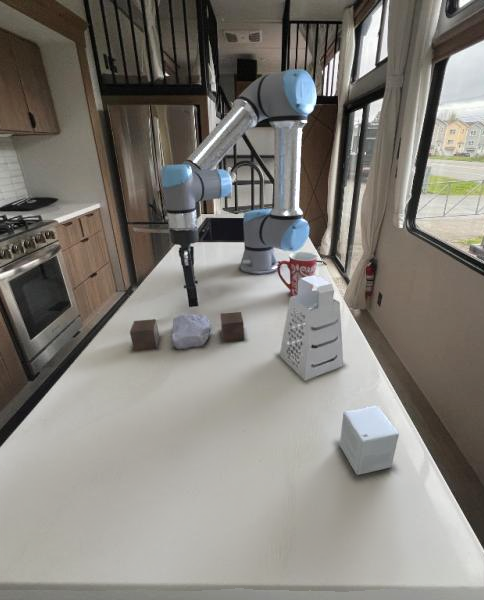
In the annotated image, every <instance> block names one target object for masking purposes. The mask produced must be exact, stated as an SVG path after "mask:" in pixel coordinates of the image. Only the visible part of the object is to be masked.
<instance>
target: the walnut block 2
mask: <svg viewBox="0 0 484 600" xmlns="http://www.w3.org/2000/svg"><path fill="white" fill-rule="evenodd" d="M220 325H221V326H220V328H221V336H222V343H228V342H239V341H245V332H244V331H245V328H244V326H245V325H244V318H243V314H242V311H234V312H222V313H220Z"/></svg>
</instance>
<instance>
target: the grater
mask: <svg viewBox="0 0 484 600" xmlns="http://www.w3.org/2000/svg"><path fill="white" fill-rule="evenodd" d="M312 285H313V287H315V288H316V289H315V290H313V291H311V287H312ZM334 295H335V288H334V286H333V284H332V283H331V282H330V281H328V280H326V279H324V278H322V277H320V276H318V275H316V274H315V275H312V276H308V277H303V278H300V279H299V281H298V295H295V296H291V295H290V298H289V302H288V308H287V311H286V318H285V324H284V329H283V334H282V340H281V345H280V351H279V357H281V358H282V359H283V361H285V362H286V363H287V364H288V365H289V367H291V368H292V370H294V371H295V373H297V374H298V375H299V376H300V378H302V379H303V380H304V381H309V380H310V379H314V378H316V377H318V376H321V375H323V374H326V373H329V372H332V371H334V370H337V369H339V368H341V367H344V352H343V350H344V349H343V335H342V334H343V333H342V318H341V317H342V316H341V303H340V301H338V300H337V299H335V298H334ZM304 323H305V324H304ZM312 346H318V347H316V348H313V347H312ZM332 359H334V360H332ZM329 360H332V361H329ZM327 361H329V362H327ZM298 362H299V363H298ZM324 362H327V363H324ZM321 363H324V364H321ZM318 364H321V365H318ZM312 365H315V366H316V365H318V366H316V367H312Z"/></svg>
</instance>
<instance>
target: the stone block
mask: <svg viewBox="0 0 484 600" xmlns="http://www.w3.org/2000/svg"><path fill="white" fill-rule="evenodd" d="M211 329H212V324H211V323H210V320H209V319H208V317H207V316H206V315H202V314H193V313H190V314H181V315H177V316H175V317H174V318H173V320H172V334H171V337H172V345H173V347H174V348H175V349H176V350H181V349H184V350H185V349H189V348H196V347H197V348H198V347H202V346H204V345H205V343H206V342H207V340H208V338H209V337H210V332H211Z"/></svg>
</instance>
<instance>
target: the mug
mask: <svg viewBox="0 0 484 600" xmlns="http://www.w3.org/2000/svg"><path fill="white" fill-rule="evenodd" d="M288 258H289V261H288V260H281V261H280V262H279V263H278V267H277V270H276V271H277V275H278V277H279V278H280V280H281V282H282V283H283V284H284V285H285V286H286V288H287V289H288V290H289V292H290V293H289V294H290V297H291V296H295V295H298V281H299V279H300V278H303V277H308V276H312V275H316V269H317V268H316V267H317V262H316V261H318V258H319V257H318V254H316V253H314V252H309V251H294V252H291V253H290V254H289V255H288ZM286 264H287V265H286ZM283 265H286V266H287V267H288V270H289V283H288V282H287V281H286V280H285V278H284V277H283V275H282V274H281V267H282V266H283ZM311 291H314V285H312V287H311Z"/></svg>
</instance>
